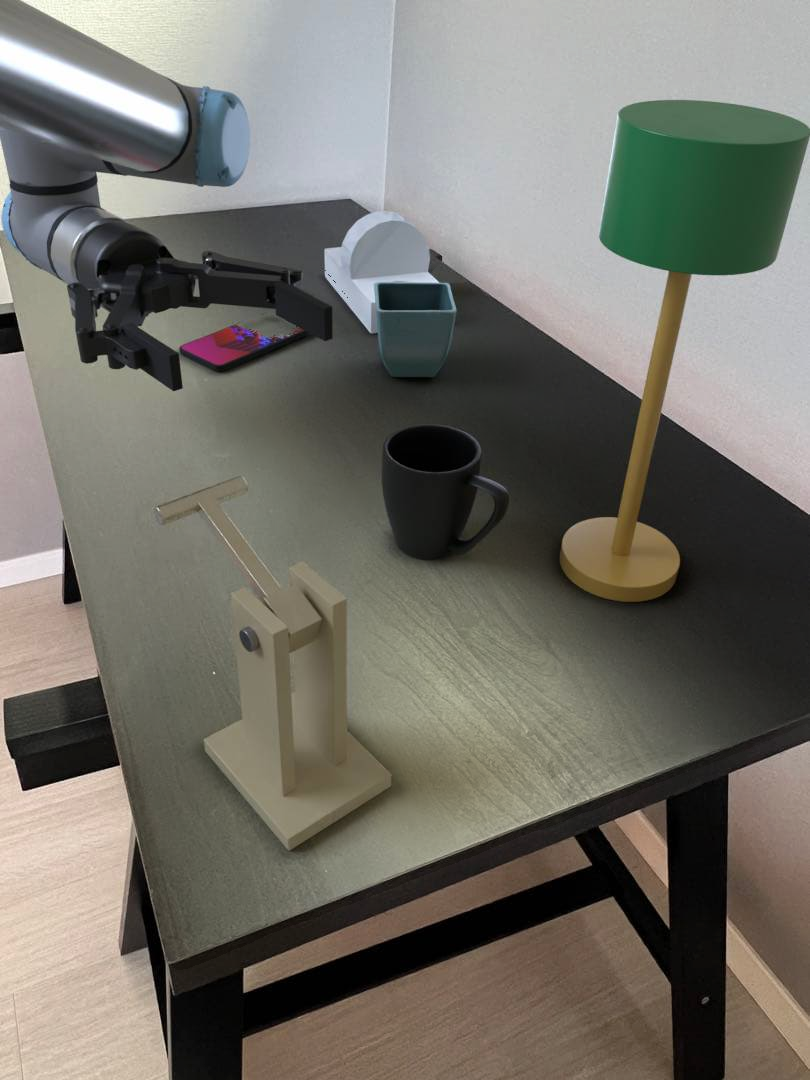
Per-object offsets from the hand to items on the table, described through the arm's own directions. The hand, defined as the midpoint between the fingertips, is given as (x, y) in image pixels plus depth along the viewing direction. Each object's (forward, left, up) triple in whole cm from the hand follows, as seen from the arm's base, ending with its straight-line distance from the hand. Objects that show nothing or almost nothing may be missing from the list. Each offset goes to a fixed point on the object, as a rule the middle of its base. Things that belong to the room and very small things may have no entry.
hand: (256, 347), depth 70 cm
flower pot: (-7, +38, -19) cm, 43 cm away
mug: (+12, +8, -19) cm, 24 cm away
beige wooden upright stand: (+15, -18, -19) cm, 31 cm away
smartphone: (-27, +33, -19) cm, 47 cm away
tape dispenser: (-19, +55, -19) cm, 61 cm away
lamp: (+26, +14, -19) cm, 36 cm away
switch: (+11, -17, -6) cm, 21 cm away
